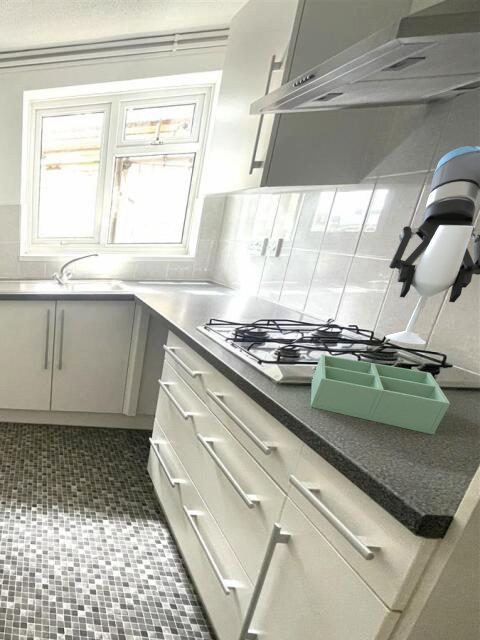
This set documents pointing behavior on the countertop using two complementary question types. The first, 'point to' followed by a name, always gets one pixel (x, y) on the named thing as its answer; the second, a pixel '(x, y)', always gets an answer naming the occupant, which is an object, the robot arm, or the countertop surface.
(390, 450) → the countertop surface
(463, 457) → the countertop surface
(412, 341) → the champagne flute
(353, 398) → the divided storage box
